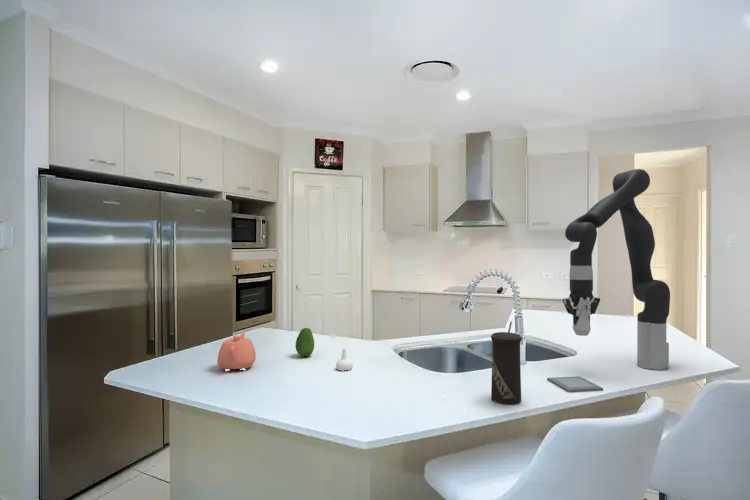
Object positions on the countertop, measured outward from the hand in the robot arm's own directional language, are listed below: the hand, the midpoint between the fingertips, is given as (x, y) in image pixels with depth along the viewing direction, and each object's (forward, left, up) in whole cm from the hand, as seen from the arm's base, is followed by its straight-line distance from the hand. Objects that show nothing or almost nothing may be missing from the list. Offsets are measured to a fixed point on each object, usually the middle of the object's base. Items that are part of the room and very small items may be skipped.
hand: (581, 325), depth 149 cm
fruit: (+99, -38, -18) cm, 108 cm away
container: (+38, +20, -18) cm, 46 cm away
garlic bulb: (+84, -18, -18) cm, 88 cm away
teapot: (+124, -26, -18) cm, 128 cm away
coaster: (+10, +11, -17) cm, 23 cm away
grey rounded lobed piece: (0, 0, -3) cm, 3 cm away
